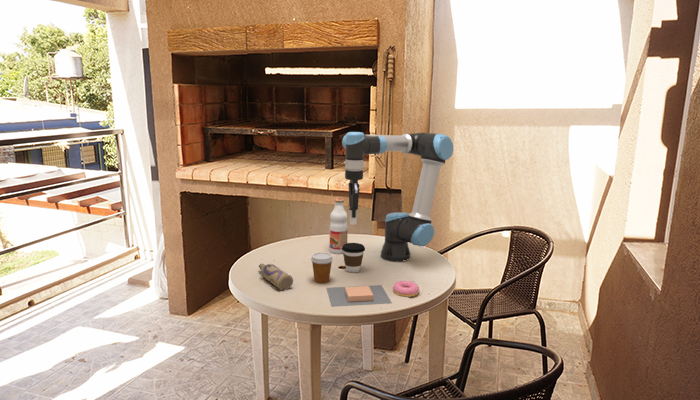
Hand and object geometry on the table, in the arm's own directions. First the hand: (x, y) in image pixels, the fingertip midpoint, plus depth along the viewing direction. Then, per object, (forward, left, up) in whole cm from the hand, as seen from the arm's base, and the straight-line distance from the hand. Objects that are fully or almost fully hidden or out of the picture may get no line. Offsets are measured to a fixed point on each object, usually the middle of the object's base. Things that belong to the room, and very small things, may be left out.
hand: (353, 224), depth 192 cm
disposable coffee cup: (+13, -2, -27) cm, 30 cm away
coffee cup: (-3, -14, -27) cm, 30 cm away
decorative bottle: (+33, -6, -27) cm, 43 cm away
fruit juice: (0, -42, -27) cm, 50 cm away
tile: (0, +12, -25) cm, 27 cm away
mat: (0, +15, -26) cm, 30 cm away
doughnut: (-21, +14, -27) cm, 36 cm away
